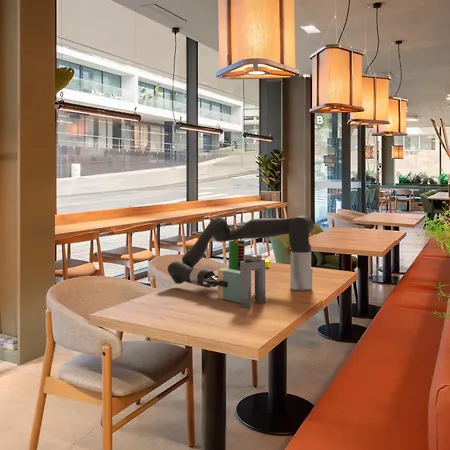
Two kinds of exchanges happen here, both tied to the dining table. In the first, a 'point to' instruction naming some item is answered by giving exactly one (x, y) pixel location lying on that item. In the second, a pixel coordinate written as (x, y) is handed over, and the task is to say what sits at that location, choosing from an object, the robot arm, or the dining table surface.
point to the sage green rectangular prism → (229, 284)
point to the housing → (245, 279)
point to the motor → (236, 254)
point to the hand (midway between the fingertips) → (231, 283)
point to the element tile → (267, 263)
